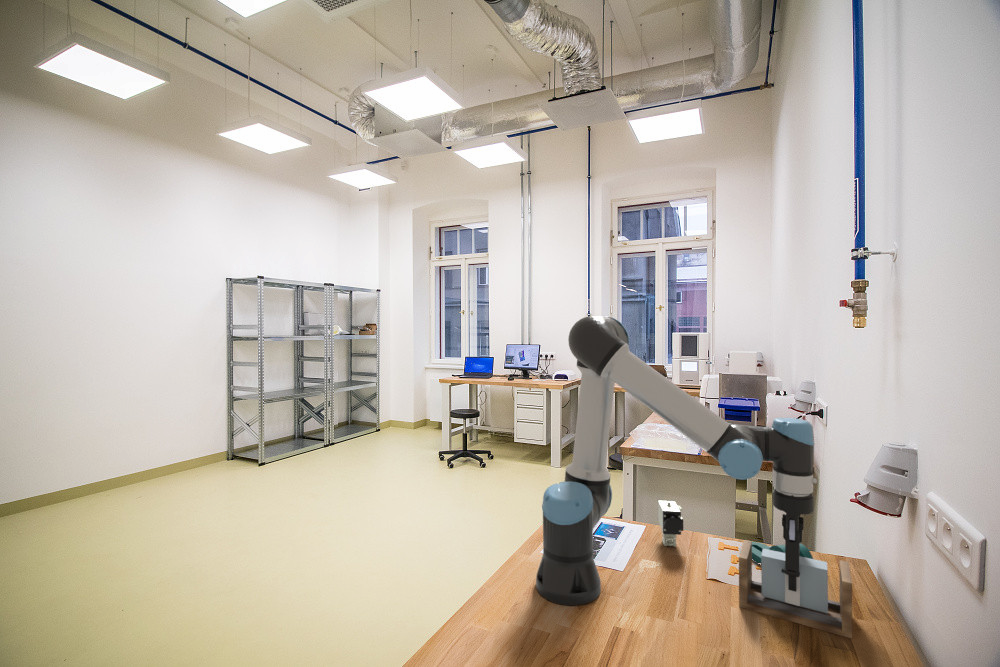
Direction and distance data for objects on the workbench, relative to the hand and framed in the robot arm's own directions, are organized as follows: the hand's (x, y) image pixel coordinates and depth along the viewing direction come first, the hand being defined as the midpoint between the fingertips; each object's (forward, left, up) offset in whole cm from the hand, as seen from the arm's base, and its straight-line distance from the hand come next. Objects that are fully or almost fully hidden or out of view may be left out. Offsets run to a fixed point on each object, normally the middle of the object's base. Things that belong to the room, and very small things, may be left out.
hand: (792, 597), depth 103 cm
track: (0, 0, -3) cm, 3 cm away
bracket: (-5, +20, -3) cm, 21 cm away
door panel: (0, 0, 0) cm, 0 cm away
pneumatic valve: (-30, +18, -3) cm, 35 cm away
